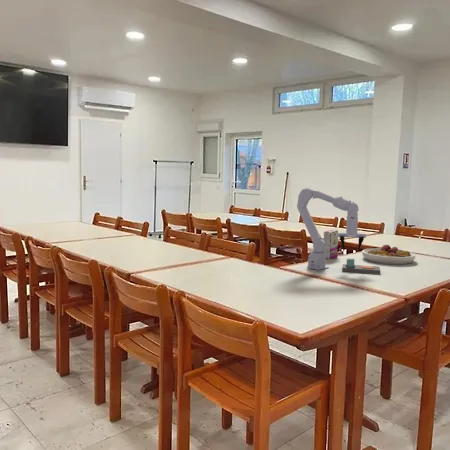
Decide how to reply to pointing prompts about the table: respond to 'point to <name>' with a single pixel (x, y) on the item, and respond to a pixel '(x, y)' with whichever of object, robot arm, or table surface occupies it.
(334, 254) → the candy bar box
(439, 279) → the table surface
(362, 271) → the board with square hole
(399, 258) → the bowl
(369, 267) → the orange disc
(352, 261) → the plug
